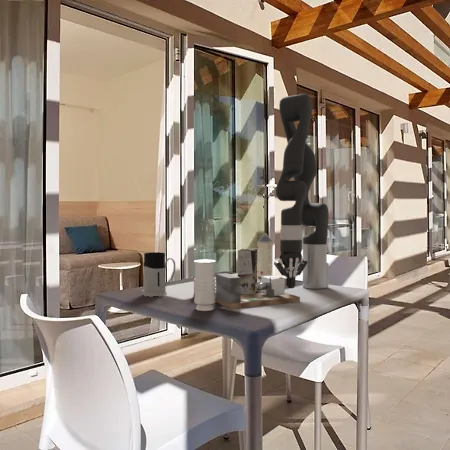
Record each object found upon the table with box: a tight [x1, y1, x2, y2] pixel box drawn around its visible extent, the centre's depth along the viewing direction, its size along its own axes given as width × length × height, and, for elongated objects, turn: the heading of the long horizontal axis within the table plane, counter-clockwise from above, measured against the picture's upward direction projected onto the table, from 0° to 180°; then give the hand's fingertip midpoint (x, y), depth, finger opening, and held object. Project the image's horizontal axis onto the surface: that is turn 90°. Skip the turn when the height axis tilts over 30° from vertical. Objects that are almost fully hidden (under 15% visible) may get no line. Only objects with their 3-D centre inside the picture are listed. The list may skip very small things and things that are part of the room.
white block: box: [256, 274, 286, 296], centre depth 153 cm, size 8×7×6 cm
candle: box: [193, 259, 216, 312], centre depth 141 cm, size 7×7×15 cm
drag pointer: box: [266, 277, 274, 297], centre depth 149 cm, size 1×3×6 cm, turn 26°
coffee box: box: [237, 248, 258, 295], centre depth 168 cm, size 9×6×16 cm
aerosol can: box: [256, 232, 274, 279], centre depth 204 cm, size 7×7×20 cm
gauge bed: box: [215, 272, 301, 310], centre depth 152 cm, size 26×12×10 cm, turn 116°
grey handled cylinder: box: [142, 251, 176, 298], centre depth 163 cm, size 9×14×15 cm, turn 55°
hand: (290, 287), depth 157 cm, fingers closed
